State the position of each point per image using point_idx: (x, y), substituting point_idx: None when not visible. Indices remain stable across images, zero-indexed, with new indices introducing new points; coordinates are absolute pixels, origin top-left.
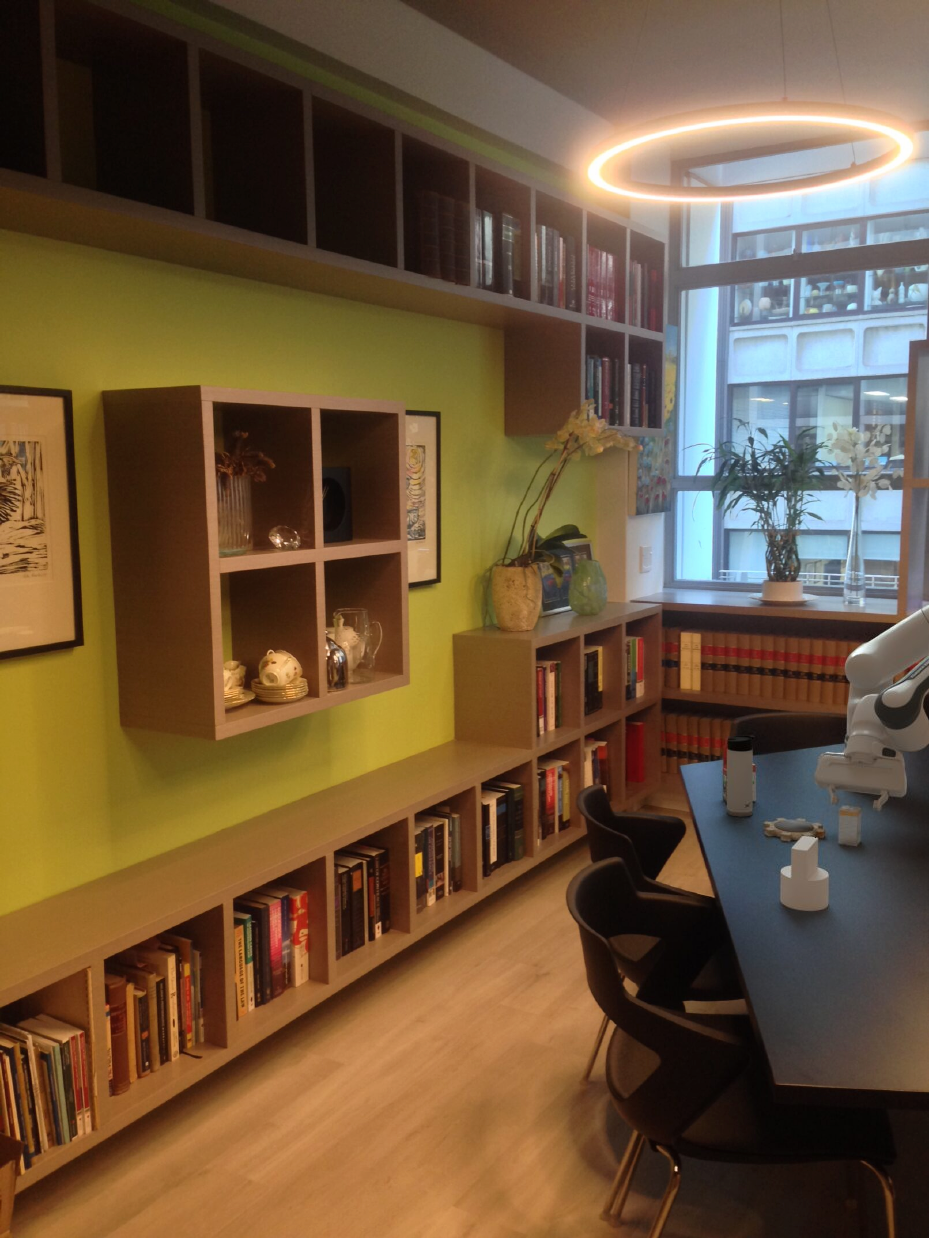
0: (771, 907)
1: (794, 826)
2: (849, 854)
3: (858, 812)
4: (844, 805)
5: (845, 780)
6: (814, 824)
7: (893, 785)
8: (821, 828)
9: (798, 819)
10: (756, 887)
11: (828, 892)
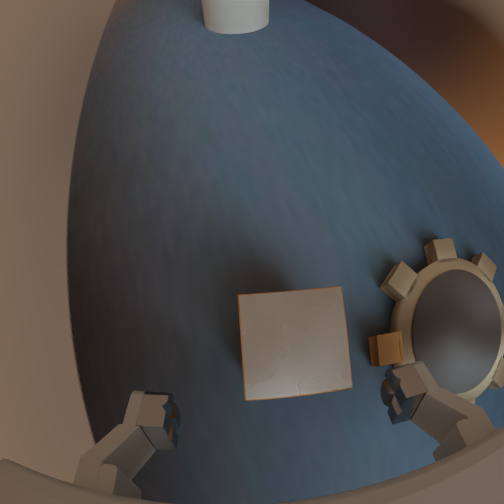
0: None
1: (458, 320)
2: (240, 228)
3: (240, 326)
4: (344, 386)
5: (423, 494)
6: None
7: (19, 488)
8: None
9: None
10: (315, 29)
11: (203, 13)
